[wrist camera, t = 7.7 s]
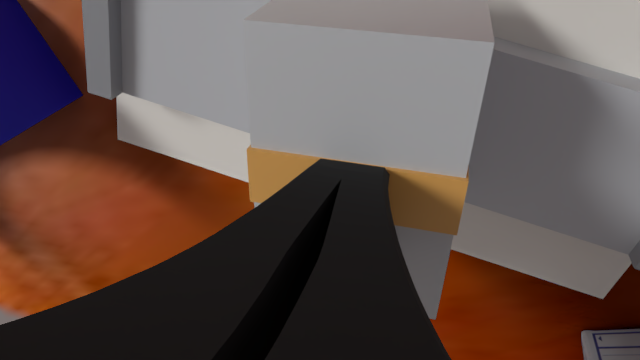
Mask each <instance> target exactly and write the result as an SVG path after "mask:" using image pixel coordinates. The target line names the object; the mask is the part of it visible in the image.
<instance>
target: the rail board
mask: <svg viewBox="0 0 640 360" xmlns="http://www.w3.org/2000/svg"><path fill="white" fill-rule="evenodd" d="M270 1H271V0H82V11H83V27H84V43H85V58H86V74H87V89H88V93H92V94H95V95H98V96H101V97H104V98H107V99H110V100H112V99H113V98H115V97H116V100H117V136H118V140H121V141H124V142H127V143H130V144H133V145H136V146H139V147H142V148H145V149H149V150H152V151H155V152H158V153H161V154H164V155H167V156H170V157H173V158H176V159H179V160H182V161H185V162H188V163H191V164H194V165H197V166H200V167H203V168H206V169H209V170H212V171H215V172H218V173H221V174H224V175H227V176H230V177H233V178H237V179H240V180H243V181H246V182H249V178H248V164H247V148H248V147H249V146H250V144H251V141H250V125H249V108H248V92H247V76H246V60H245V44H244V28H243V19H245V18H246V17H248V16H249V15H251V14H252V13H254V12H255V11H257V10H258V9H259V8H261V7H262V6H264V5H265V4H267V3H268V2H270ZM488 5H489V11H490V17H491V23H492V29H493V36H494V42H495V43H494V48H493V53H492V57H491V62H490V67H489V71H488V76H487V81H486V86H485V90H484V95H483V100H482V104H481V109H480V114H479V118H478V123H477V128H476V132H475V137H474V142H473V146H472V151H471V156H470V161H469V182H468V187H467V192H466V196H465V201H464V205H463V210H462V215H461V219H460V224H459V228H458V233H457V235H454V236H453V240H452V245H451V249H452V250H455V251H458V252H461V253H464V254H467V255H470V256H473V257H476V258H479V259H482V260H485V261H488V262H491V263H494V264H497V265H501V266H504V267H507V268H510V269H513V270H516V271H519V272H522V273H525V274H528V275H531V276H534V277H537V278H540V279H543V280H546V281H549V282H552V283H555V284H558V285H561V286H564V287H567V288H570V289H573V290H576V291H579V292H582V293H585V294H588V295H592V296H595V297H598V298H601V299H603V298H604V297H605V296H606V295H607V293H608V292H609V291H610V290H611V288H612V287H613V286H614V285H615V283H616V282H617V281H618V280H619V278H620V277H621V276H622V275H623V273H624V272H625V271H626V270H627V268H628V267H629V266H630V265H631V263H632V265H633V267H634V269H637V270H640V0H488Z"/></svg>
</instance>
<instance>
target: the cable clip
mask: <svg viewBox="0 0 640 360" xmlns="http://www.w3.org/2000/svg"><path fill="white" fill-rule="evenodd" d="M81 96H83V94H82V93H81V91H80V90H79V88H78V87H77V85H76V84H75V83H74V81H73V80H72V78H71V77H70V75H69V74H68V73H67V71H66V70H65V68H64V67H63V65H62V64H61V63H60V61H59V60H58V58H57V57H56V55H55V54H54V53H53V51H52V50H51V48H50V47H49V45H48V44H47V43H46V41H45V40H44V38H43V37H42V35H41V34H40V33H39V31H38V30H37V28H36V27H35V25H34V24H33V23H32V21H31V20H30V18H29V17H28V15H27V14H26V13H25V11H24V10H23V8H22V7H21V5H20V4H19V3H18V1H17V0H0V145H2V144H4V143H5V142H7V141H8V140H10V139H12V138H13V137H15V136H17V135H18V134H20V133H22V132H23V131H25V130H27V129H28V128H30V127H32V126H33V125H35V124H37V123H38V122H40V121H42V120H43V119H45V118H46V117H48V116H50V115H51V114H53V113H55V112H56V111H58V110H60V109H61V108H63V107H65V106H66V105H68V104H70V103H71V102H73V101H75V100H76V99H78V98H80V97H81Z"/></svg>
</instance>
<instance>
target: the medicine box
mask: <svg viewBox="0 0 640 360" xmlns="http://www.w3.org/2000/svg"><path fill="white" fill-rule="evenodd" d="M581 339H582V346H583V356H584V360H640V329H622V330H601V331H591V330H584V331H582V332H581Z"/></svg>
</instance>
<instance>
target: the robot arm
mask: <svg viewBox="0 0 640 360" xmlns="http://www.w3.org/2000/svg"><path fill="white" fill-rule="evenodd" d="M389 177H390V174H389V173H388V172H387V170H386V169H385V167H378V166H371V165H364V164H357V163H350V162H343V161H336V160H329V159H322V158H321V159H319V160H318V161H317V162H315V163H314V164H313V165H311V166H310V167H308V168H307V169H306V170H305V171H303V172H302V173H301V174H299V175H298V176H297V177H296V178H294V179H293V180H292V181H290V182H289V183H288V184H287V185H285V186H284V187H283V188H281V189H280V190H279V191H277V192H276V193H275V194H273V195H272V196H271V197H269V198H268V199H266V200H265V201H264V202H262V203H261V204H260V205H258V206H257V207H255V208H254V209H253V210H251V211H250V212H248V213H247V214H245V215H243V216H242V217H240V218H239V219H237V220H236V221H234V222H233V223H231V224H230V225H228V226H226V227H225V228H223V229H222V230H220V231H219V232H217V233H216V234H214V235H212V236H210V237H209V238H207V239H205V240H203V241H202V242H200V243H198V244H196V245H195V246H193V247H191V248H189V249H187V250H185V251H183V252H181V253H179V254H177V255H175V256H174V257H172V258H170V259H168V260H166V261H164V262H162V263H160V264H158V265H156V266H153V267H151V268H149V269H147V270H144V271H142V272H140V273H137V274H135V275H133V276H130V277H128V278H126V279H124V280H121V281H119V282H117V283H114V284H112V285H110V286H107V287H105V288H103V289H100V290H98V291H96V292H93V293H91V294H88V295H86V296H83V297H80V298H77V299H75V300H72V301H69V302H67V303H64V304H61V305H59V306H56V307H53V308H50V309H47V310H44V311H41V312H38V313H35V314H32V315H30V316H27V317H24V318H21V319H18V320H15V321H12V322H9V323H5V324H2V325H0V360H451V358H450V357H449V355H448V353H447V352H446V350H445V348H444V346H443V344H442V342H441V340H440V339H439V337H438V335H437V333H436V331H435V329H434V327H433V325H432V323H431V321H430V319H429V317H428V315H427V313H426V311H425V308H424V306H423V304H422V302H421V300H420V298H419V295H418V293H417V291H416V288H415V286H414V283H413V281H412V278H411V276H410V273H409V270H408V268H407V265H406V262H405V259H404V256H403V254H402V250H401V247H400V244H399V241H398V237H397V233H396V229H395V225H394V222H393V218H392V213H391V208H390V201H389V192H388V185H389Z"/></svg>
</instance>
